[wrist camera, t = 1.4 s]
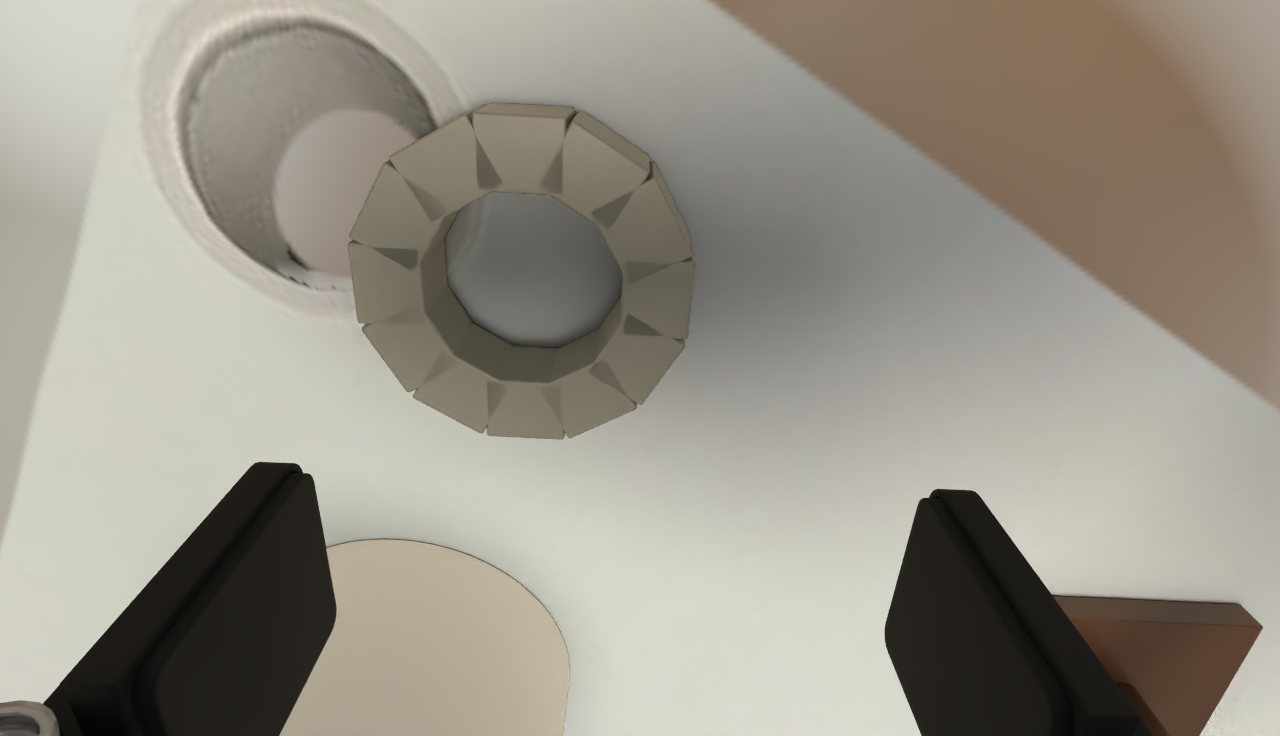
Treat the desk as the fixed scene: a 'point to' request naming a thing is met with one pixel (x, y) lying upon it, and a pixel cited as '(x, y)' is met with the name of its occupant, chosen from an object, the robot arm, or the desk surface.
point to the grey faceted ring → (476, 359)
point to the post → (1166, 654)
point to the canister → (432, 650)
